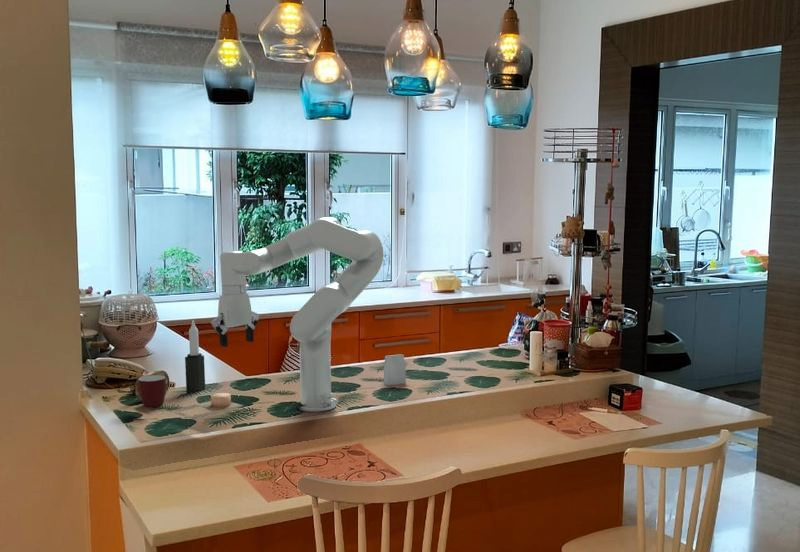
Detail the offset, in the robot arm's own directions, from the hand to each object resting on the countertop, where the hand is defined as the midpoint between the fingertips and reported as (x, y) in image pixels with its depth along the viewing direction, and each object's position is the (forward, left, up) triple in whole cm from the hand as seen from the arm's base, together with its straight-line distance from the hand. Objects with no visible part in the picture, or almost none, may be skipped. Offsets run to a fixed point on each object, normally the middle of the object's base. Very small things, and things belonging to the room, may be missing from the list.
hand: (237, 343), depth 248 cm
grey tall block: (-21, -51, -20) cm, 59 cm away
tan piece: (-1, +13, -19) cm, 23 cm away
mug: (+16, +21, -20) cm, 33 cm away
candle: (+21, +2, -20) cm, 29 cm away
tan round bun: (-1, +8, -18) cm, 20 cm away
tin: (+28, +14, -20) cm, 37 cm away
